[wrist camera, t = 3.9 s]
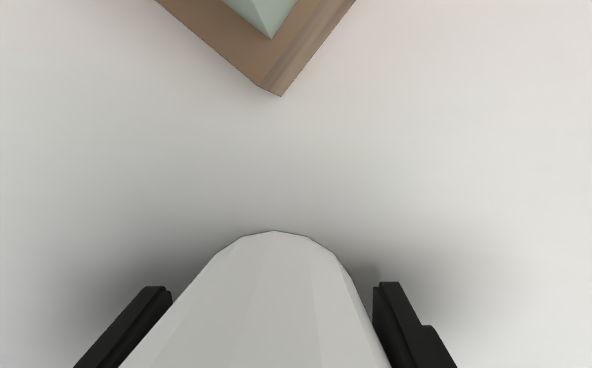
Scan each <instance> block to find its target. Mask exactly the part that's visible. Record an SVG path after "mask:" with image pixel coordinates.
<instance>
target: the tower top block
mask: <svg viewBox="0 0 592 368" xmlns="http://www.w3.org/2000/svg"><path fill="white" fill-rule="evenodd" d="M221 1H222V2H224V3H225V4H226V5H228V6H229V7H230V8H231V9H233V10H234V11H235V12H236V13H238V14H239V15H240V16H241V17H243V18H244V19H245V20H247V21H248V22H249V23H250V24H252V25H253V26H254V27H255V28H257V29H258V30H259V31H261V32H262V33H263V34H264V35H266V36H267V37H268V38H269V39H271V40H272V38H273V37H274V35H275V34H276V32H277V31H278V29H279V28H280V26H281V25H282V23H283V22H284V20H285V19H286V17H287V16H288V14H289V13H290V11H291V10H292V8H293V7H294V5H295V4H296V2H297V1H298V0H221Z"/></svg>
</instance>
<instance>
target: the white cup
mask: <svg viewBox="0 0 592 368" xmlns="http://www.w3.org/2000/svg"><path fill="white" fill-rule="evenodd" d="M118 368H392V367H391V365H390V363H389V360H388V358H387V356H386V354H385V352H384V349H383V347H382V345H381V343H380V341H379V338H378V336H377V334H376V332H375V330H374V327H373V325H372V323H371V321H370V319H369V317H368V314H367V312H366V310H365V308H364V306H363V303H362V301H361V299H360V297H359V295H358V292H357V290H356V288H355V286H354V284H353V281H352V279H351V277H350V276H349V274H348V273H347V272H346V270H345V269H344V267H343V266H342V265H341V263H340V262H339V260H338V259H337V258H336V256H335V255H334V253H332V252H330V251H329V250H327V249H325V248H324V247H322V246H321V245H319V244H317V243H316V242H314V241H313V240H311V239H309V238H308V237H305V236H300V235H295V234H289V233H284V232H278V231H270V232H264V233H259V234H254V235H248V236H243V237H241V238H239V239H238V240H236V241H235V242H233V243H232V244H230V245H229V246H227V247H225V248H224V249H222V250H221V251H219V252H218V253H216V254H215V256H214V257H213V258H212V259H211V260H210V261H209V263H208V264H207V265H206V266H205V267H204V268H203V270H202V271H201V272H200V273H199V274H198V275H197V277H196V278H195V279H194V280H193V281H192V282H191V284H190V285H189V286H188V287H187V288H186V289H185V291H184V292H183V293H182V294H181V295H180V296H179V298H178V299H177V300H176V301H175V302H174V303H173V305H172V306H171V307H170V308H169V309H168V310H167V312H166V313H165V314H164V315H163V316H162V317H161V319H160V320H159V321H158V322H157V323H156V324H155V325H154V327H153V328H152V329H151V330H150V331H149V332H148V334H147V335H146V336H145V337H144V338H143V339H142V341H141V342H140V343H139V344H138V345H137V346H136V348H135V349H134V350H133V351H132V352H131V353H130V355H129V356H128V357H127V358H126V359H125V360H124V362H123V363H122V364H121V365H120V366H119V367H118Z"/></svg>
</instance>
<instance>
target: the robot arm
mask: <svg viewBox="0 0 592 368" xmlns="http://www.w3.org/2000/svg"><path fill="white" fill-rule="evenodd" d="M172 305H173V302H172V295H171V292H170V291H166V288H165V287H164V286H147V287H144V288H143V289H142V290H141V291H140V293H139V294H138V295H137V296H136V297H135V298H134V299H133V300H132V302H131V303H130V304H129V305H128V306H127V307H126V308H125V309H124V311H123V312H122V313H121V314H120V315H119V316H118V317H117V318H116V320H115V321H114V322H113V323H112V324H111V325H110V326H109V327H108V329H107V330H106V331H105V332H104V333H103V334H102V335H101V336H100V338H99V339H98V340H97V341H96V342H95V343H94V344H93V345H92V347H91V348H90V349H89V350H88V351H87V352H86V353H85V354H84V356H83V357H82V358H81V359H80V360H79V361H78V362H77V363H76V365H75V366H74V367H73V368H118V367H119V366H120V365H121V364H122V363H123V362H124V360H125V359H126V358H127V357H128V356H129V355H130V353H131V352H132V351H133V350H134V349H135V348H136V346H137V345H138V344H139V343H140V342H141V341H142V339H143V338H144V337H145V336H146V335H147V334H148V332H149V331H150V330H151V329H152V328H153V327H154V325H155V324H156V323H157V322H158V321H159V320H160V319H161V317H162V316H163V315H164V314H165V313H166V312H167V310H168V309H169V308H170V307H171V306H172ZM372 325H373V327H374V330H375V332H376V334H377V336H378V338H379V341H380V343H381V345H382V347H383V349H384V352H385V354H386V356H387V358H388V360H389V363H390V365H391V367H392V368H457V366H456V364H455V363H454V361H453V359H452V357H451V356H450V354H449V352H448V351H447V349H446V347H445V345H444V344H443V342H442V340H441V339H440V337H439V335H438V334H437V332H436V330H435V329H434V328H433V327H432V326H431V325H421V323H420V321H419V319H418V317H417V315H416V314H415V312H414V310H413V308H412V306H411V304H410V302H409V300H408V299H407V297H406V295H405V293H404V291H403V289H402V287H401V286H400V284H399V282H380V283H379V287H374V288H373V318H372Z"/></svg>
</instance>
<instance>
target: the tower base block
mask: <svg viewBox="0 0 592 368" xmlns="http://www.w3.org/2000/svg"><path fill="white" fill-rule="evenodd" d="M155 1H157V2H158V3H159V4H160V5H161V6H163V7H164V8H165V9H166V10H167V11H169V12H170V13H171V14H172V15H173V16H175V17H176V18H177V19H178V20H179V21H181V22H182V23H183V24H184V25H185V26H186V27H188V28H189V29H190V30H191V31H192V32H194V33H195V34H196V35H197V36H198V37H200V38H201V39H202V40H203V41H204V42H206V43H207V44H208V45H209V46H210V47H212V48H213V49H214V50H215V51H216V52H218V53H219V54H220V55H221V56H222V57H224V58H225V59H226V60H227V61H228V62H230V63H231V64H232V65H233V66H234V67H235V68H237V69H238V70H239V71H240V72H241V73H243V74H244V75H245V76H246V77H247V78H249V79H250V80H251V81H252V82H253V83H255V84H256V85H257V86H259V87H261V88H263V89H265V90H267V91H270V92H272V93H274V94H276V95H278V96H280V97H281V96H282V95H283V94H284V92H285V91H286V90H287V88H288V87H289V86H290V85H291V83H292V82H293V81H294V79H295V78H296V77H297V75H298V74H299V73H300V72H301V70H302V69H303V68H304V66H305V65H306V64H307V63H308V61H309V60H310V59H311V57H312V56H313V55H314V54H315V52H316V51H317V50H318V48H319V47H320V46H321V44H322V43H323V42H324V41H325V39H326V38H327V37H328V35H329V34H330V33H331V32H332V30H333V29H334V28H335V26H336V25H337V24H338V22H339V21H340V20H341V19H342V17H343V16H344V15H345V13H346V12H347V11H348V10H349V8H350V7H351V6H352V4H353V3H354V2H355V1H356V0H298V1H297V2H296V4H295V5H294V7H293V8H292V10H291V11H290V13H289V14H288V16H287V17H286V19H285V20H284V22H283V23H282V25H281V26H280V28H279V29H278V31H277V32H276V34H275V35H274V37H273V38H272V40H271V39H269V38H268V37H267V36H266V35H264V34H263V33H262V32H261V31H259V30H258V29H257V28H255V27H254V26H253V25H252V24H250V23H249V22H248V21H247V20H245V19H244V18H243V17H241V16H240V15H239V14H238V13H236V12H235V11H234V10H233V9H231V8H230V7H229V6H228V5H226V4H225V3H224V2H222V1H221V0H155Z"/></svg>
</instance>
